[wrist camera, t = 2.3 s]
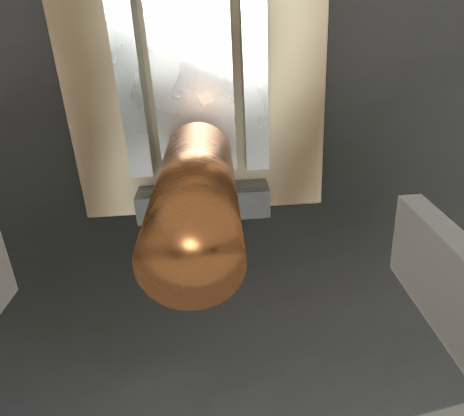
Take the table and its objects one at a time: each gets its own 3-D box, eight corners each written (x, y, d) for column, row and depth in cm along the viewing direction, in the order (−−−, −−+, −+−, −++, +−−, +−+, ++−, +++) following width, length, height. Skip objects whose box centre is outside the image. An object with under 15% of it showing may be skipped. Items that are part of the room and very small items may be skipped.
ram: (131, 180, 25) (66, 319, 13) (92, -70, 19) (-65, -177, 8) (271, 171, 25) (321, 301, 14) (268, -79, 20) (343, -195, 9)
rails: (142, 211, 26) (137, 226, 24) (109, -11, 21) (99, -13, 19) (266, 203, 26) (270, 217, 24) (262, -19, 21) (267, -22, 19)
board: (91, 212, 26) (87, 217, 26) (31, -78, 20) (24, -81, 19) (317, 197, 27) (320, 202, 26) (328, -93, 20) (332, -96, 20)
